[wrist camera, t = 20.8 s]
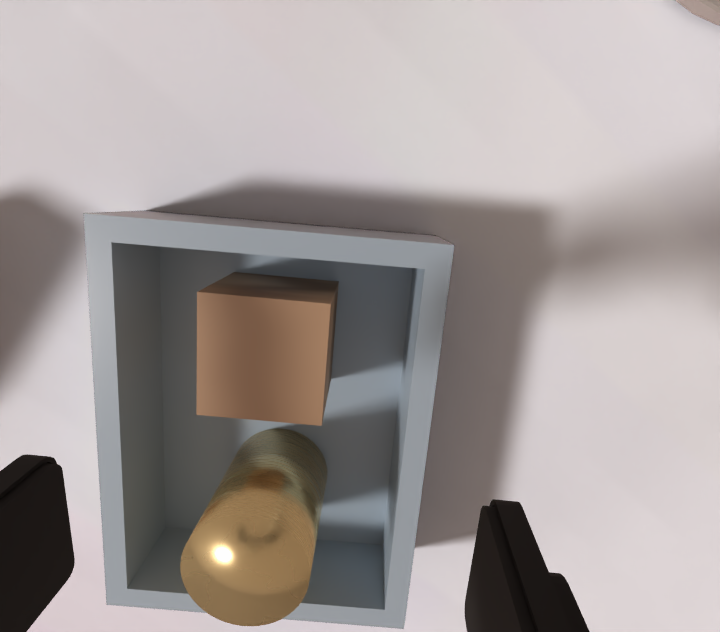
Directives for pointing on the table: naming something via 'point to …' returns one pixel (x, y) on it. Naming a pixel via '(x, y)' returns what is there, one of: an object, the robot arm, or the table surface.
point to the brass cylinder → (258, 531)
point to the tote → (226, 435)
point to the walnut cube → (265, 347)
